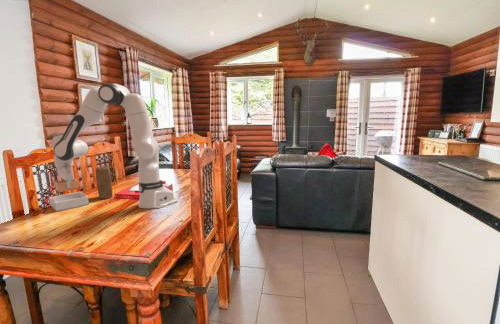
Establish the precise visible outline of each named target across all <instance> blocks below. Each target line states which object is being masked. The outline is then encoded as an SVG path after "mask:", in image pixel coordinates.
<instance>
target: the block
mask: <svg viewBox="0 0 500 324" xmlns="http://www.w3.org/2000/svg"><path fill="white" fill-rule="evenodd" d="M95 179H96V180H95V181H96V185H97V191H98V197H99V199H101V200H105V199H106V200H107V199H110V198H112V197H113V186H112V185H113V184H112V176H111V170H110V167H109V166H108V165H103V166H98V167H96V168H95Z"/></svg>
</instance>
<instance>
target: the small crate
mask: <svg viewBox="0 0 500 324" xmlns="http://www.w3.org/2000/svg"><path fill="white" fill-rule="evenodd" d="M70 185H71V187H67V186H66V180H63V181H62V180H58V181H54V187H55V191H56V192H57V193H61V192H66V191H73V190H77V189H79V182H78V179H76V178H74V180H71V184H70Z"/></svg>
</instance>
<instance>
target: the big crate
mask: <svg viewBox="0 0 500 324" xmlns="http://www.w3.org/2000/svg"><path fill="white" fill-rule="evenodd" d="M48 198H49V205H50V207H51V208H52V209H53V210H54V211H55V212H62V211H66V210H70V209H76V208H80V207H85V205H86V206H89V205H90V202H89V201H90V200H89V196H88V195H87V194H85V193H84V192H82V191H77V192H71V193H64V194H60V195H55V196H49V197H48Z"/></svg>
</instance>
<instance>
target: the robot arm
mask: <svg viewBox="0 0 500 324" xmlns="http://www.w3.org/2000/svg"><path fill="white" fill-rule="evenodd" d="M108 105H113V106H114V105H115V106H121V107H122V108H123V109H124V111H125V114H126V118H127V121H128V125H129V128H130V133H131V139H132V145H133V149H134V153H135V155H136V156H137V157H138V168H137V170H138V180H139V181H138V191H139V200H138V204H137V205H138V208H140V209H161V208H164V207H166V206H170V205H172V204H176V203H178V202H179V199H178V198H177V197H175V196H174V193H173V191H172V190H171V189H169V188H168V187H165V186H164V185H166V184H167V181H166V180H161V179H160V165H159V164H160V160H159V159H160V157H159V156H160V154H159V153H160V151H159V149H160V148H159V143H158V141H157V140H156V139H155V138H154V133H153V128H152V123H151V119H150V116H149V113H148V108H147V105H146V103H145V101H144V99H143V97H142V96H141V95H140V94H138V93H137V92H133V93H132V91H131V89H130V88H129V87H128V86H126V85H124V84H123V85H121V84H119V83H111V82H108V83H104V84H102V85H100V87H92V88H91V89H89V90H88V92H87V94H86V95H85V97H84V100H83V101H82V104H81V105H80V108H79V110H78V111H77V113H76V114H75V115H74V116H73V117H72V118H71V120H70V121H69V123H68V126H67V127H66V128H65V131H64V132H63V133H62V134H56V135H54V136H52V151H53V154H54V157H53V160H54V166H55V168H56V172H57V176H58V177H60V178H61V181H63V180H66V186H67V187H71V185H70V184H71V180H74V179H75V177H74V176H75V175H74V170H73V167H72V166H74V159H76V158H80V157H83V156H86V155H87V154H88V152H89V145H88V143H87V141H85V140H81V139H78V137H79V136H80V134H81V132H82V131H83V130H85V129H87V128H89V127H90V126H92V125H95V124H97V123H99V122H100V121H101V120H102V118H103V117H104V114H105V111H106V109H107V107H108Z"/></svg>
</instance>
